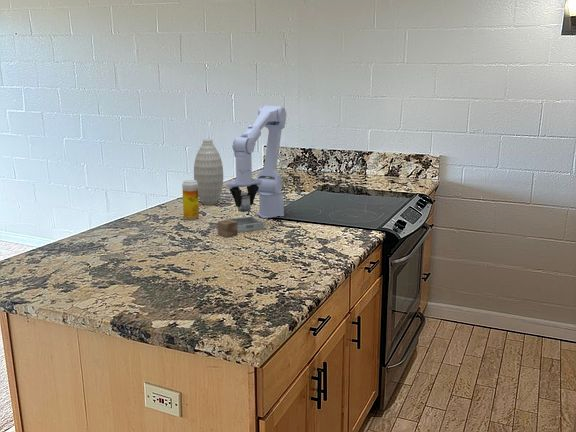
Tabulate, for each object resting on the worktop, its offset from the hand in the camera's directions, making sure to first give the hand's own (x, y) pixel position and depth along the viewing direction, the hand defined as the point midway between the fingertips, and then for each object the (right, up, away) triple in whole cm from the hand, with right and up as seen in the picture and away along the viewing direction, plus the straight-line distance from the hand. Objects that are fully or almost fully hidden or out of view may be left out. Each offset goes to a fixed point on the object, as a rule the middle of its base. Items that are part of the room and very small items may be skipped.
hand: (244, 205), depth 216 cm
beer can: (-22, -5, +15) cm, 27 cm away
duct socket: (0, -8, +2) cm, 8 cm away
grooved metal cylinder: (0, -2, +1) cm, 2 cm away
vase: (-18, +2, +40) cm, 44 cm away
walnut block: (-5, -11, -8) cm, 14 cm away
